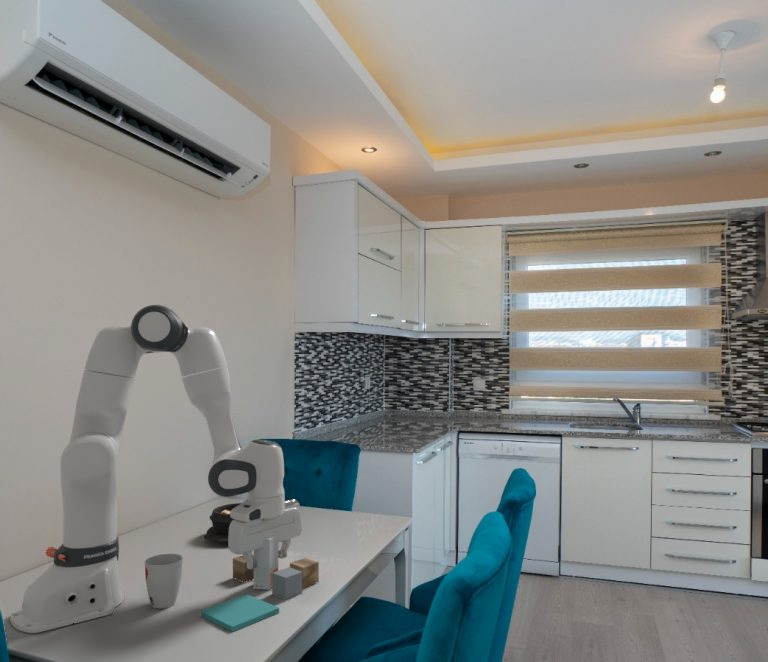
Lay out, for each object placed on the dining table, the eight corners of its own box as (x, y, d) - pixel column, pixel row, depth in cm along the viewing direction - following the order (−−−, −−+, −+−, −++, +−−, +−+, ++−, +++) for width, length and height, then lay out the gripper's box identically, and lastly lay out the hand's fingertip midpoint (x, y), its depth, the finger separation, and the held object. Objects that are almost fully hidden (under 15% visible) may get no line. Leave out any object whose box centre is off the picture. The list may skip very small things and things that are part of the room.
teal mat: (232, 631, 122) (232, 626, 122) (200, 615, 130) (200, 610, 130) (279, 612, 131) (279, 607, 131) (246, 598, 139) (246, 594, 139)
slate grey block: (285, 599, 138) (285, 577, 138) (272, 594, 141) (272, 572, 141) (302, 593, 141) (302, 571, 142) (288, 588, 145) (288, 567, 145)
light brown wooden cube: (303, 588, 144) (303, 567, 144) (290, 583, 148) (289, 563, 148) (318, 582, 148) (318, 562, 148) (305, 577, 151) (305, 557, 152)
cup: (153, 596, 140) (153, 553, 141) (187, 596, 140) (187, 553, 140) (138, 611, 132) (138, 565, 133) (174, 611, 132) (174, 565, 132)
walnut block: (244, 583, 148) (244, 562, 149) (232, 578, 152) (232, 558, 152) (261, 577, 152) (261, 557, 152) (249, 572, 155) (249, 553, 156)
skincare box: (269, 590, 143) (269, 539, 144) (253, 589, 144) (252, 539, 144) (279, 581, 149) (278, 532, 150) (263, 580, 150) (262, 531, 150)
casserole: (243, 550, 174) (243, 520, 174) (188, 545, 179) (188, 516, 180) (282, 526, 198) (282, 500, 198) (232, 522, 203) (232, 497, 204)
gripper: (291, 496, 157) (291, 549, 157) (224, 512, 142) (224, 571, 141) (307, 499, 153) (307, 554, 153) (239, 516, 138) (240, 577, 137)
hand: (267, 562), depth 147 cm, fingers open, 8 cm apart
